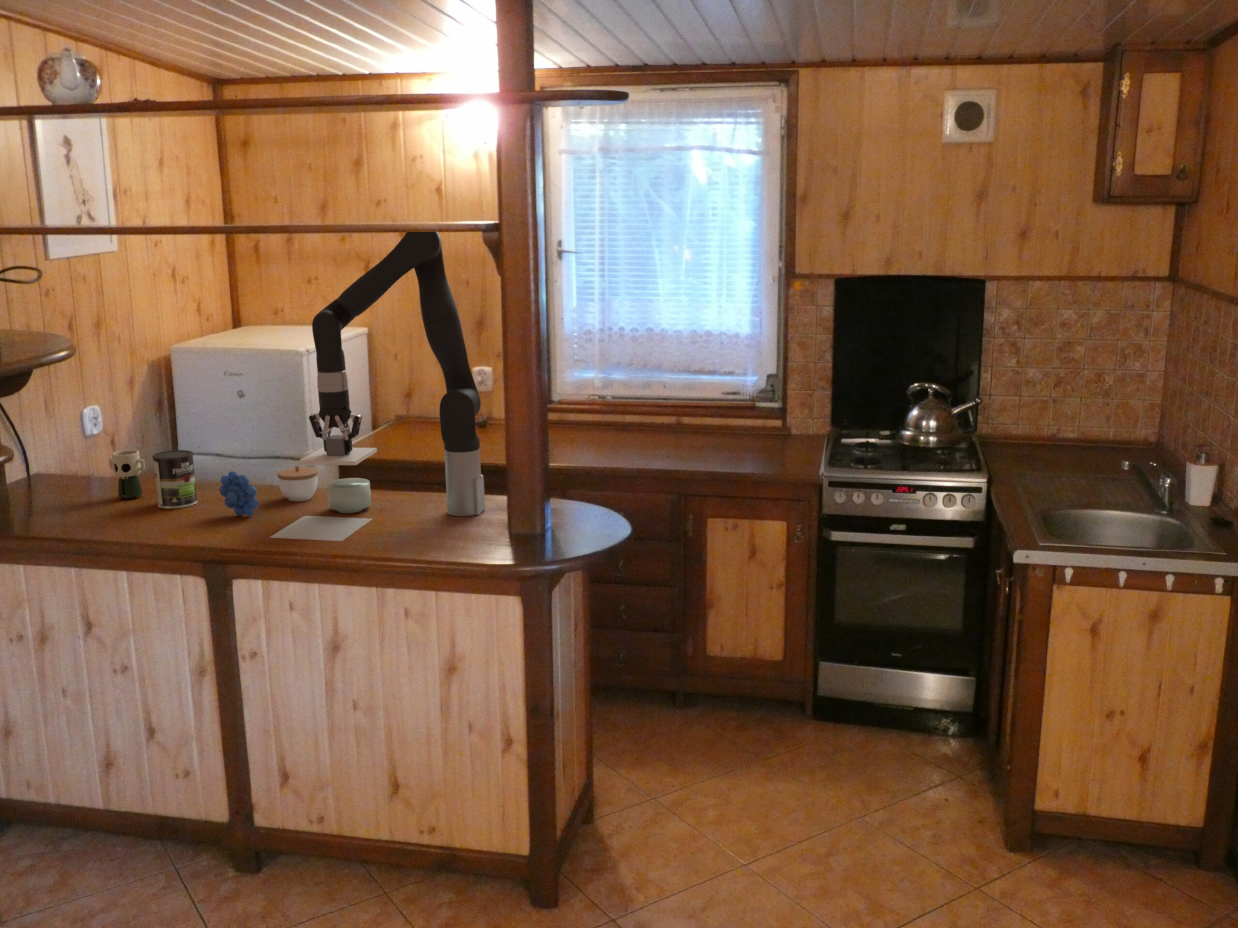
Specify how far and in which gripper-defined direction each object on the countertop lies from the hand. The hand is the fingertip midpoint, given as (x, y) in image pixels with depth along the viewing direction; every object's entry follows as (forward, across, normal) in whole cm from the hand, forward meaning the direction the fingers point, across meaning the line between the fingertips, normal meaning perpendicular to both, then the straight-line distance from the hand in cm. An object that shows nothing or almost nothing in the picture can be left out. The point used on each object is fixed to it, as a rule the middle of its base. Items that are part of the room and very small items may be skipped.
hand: (338, 453), depth 289 cm
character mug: (+17, +67, -10) cm, 70 cm away
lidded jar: (+17, +19, -15) cm, 30 cm away
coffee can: (+17, +50, -6) cm, 53 cm away
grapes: (+17, +28, +4) cm, 33 cm away
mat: (+17, +1, +12) cm, 21 cm away
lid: (+1, 0, 0) cm, 1 cm away
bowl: (+17, 0, -5) cm, 18 cm away
